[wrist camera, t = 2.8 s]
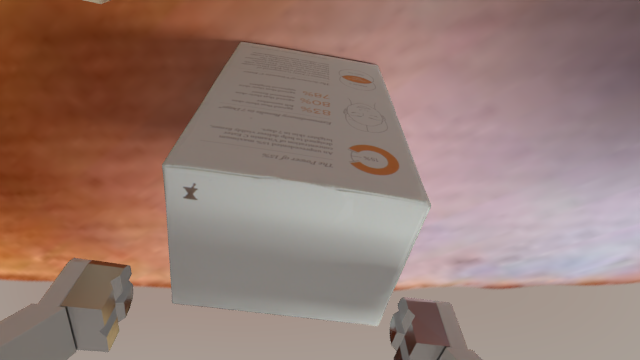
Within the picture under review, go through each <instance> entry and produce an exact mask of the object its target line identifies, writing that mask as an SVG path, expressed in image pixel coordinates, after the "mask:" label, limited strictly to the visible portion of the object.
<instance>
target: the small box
mask: <svg viewBox="0 0 640 360" xmlns="http://www.w3.org/2000/svg"><path fill="white" fill-rule="evenodd" d="M162 169H163V178H164V189H165V200H166V212H167V228H168V245H169V260H170V275H171V290H172V303H174V304H181V305H193V306H201V307H211V308H219V309H228V310H238V311H247V312H255V313H265V314H274V315H283V316H292V317H301V318H310V319H318V320H327V321H336V322H346V323H355V324H363V325H371V326H378V325H379V323H380V321H381V318H382V316H383V314H384V311H385V309H386V306H387V304H388V301H389V299H390V297H391V295H392V293H393V290H394V288H395V286H396V284H397V281H398V279H399V277H400V275H401V272H402V270H403V268H404V266H405V263H406V261H407V259H408V257H409V254H410V252H411V250H412V248H413V245H414V243H415V241H416V239H417V236H418V234H419V232H420V230H421V227H422V225H423V223H424V221H425V219H426V216H427V214H428V212H429V210H430V208H431V203H430V201H429V199H428V196H427V194H426V191H425V189H424V186H423V184H422V181H421V178H420V176H419V173H418V171H417V168H416V166H415V163H414V160H413V157H412V155H411V152H410V149H409V147H408V144H407V141H406V138H405V136H404V133H403V130H402V128H401V125H400V123H399V120H398V118H397V115H396V112H395V109H394V106H393V103H392V101H391V98H390V95H389V93H388V90H387V88H386V85H385V82H384V80H383V77H382V75H381V72H380V70H379V67H378V66H377V65H374V64H368V63H363V62H357V61H352V60H346V59H341V58H335V57H329V56H324V55H318V54H312V53H306V52H301V51H295V50H289V49H283V48H278V47H272V46H266V45H259V44H253V43H247V42H240V43H239V45H238V46H237V48H236V50H235V51H234V53H233V54H232V56H231V57H230V59H229V60H228V62H227V63H226V65H225V66H224V68H223V69H222V71H221V73H220V74H219V76H218V77H217V79H216V80H215V82H214V84H213V85H212V87H211V89H210V90H209V92H208V93H207V95H206V97H205V98H204V100H203V101H202V103H201V105H200V106H199V108H198V109H197V111H196V113H195V114H194V116H193V117H192V119H191V120H190V122H189V123H188V125H187V126H186V128H185V130H184V131H183V133H182V134H181V136H180V137H179V139H178V141H177V142H176V144H175V145H174V147H173V148H172V150H171V151H170V153H169V155H168V156H167V158H166V159H165V161H164V162H163V164H162Z"/></svg>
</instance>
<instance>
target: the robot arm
mask: <svg viewBox="0 0 640 360" xmlns="http://www.w3.org/2000/svg"><path fill="white" fill-rule="evenodd" d="M131 274H132V273H131V267H130V266H128V265H123V264H116V263H109V262H102V261H95V260H86V259H79V258H73V259H72V260H70V261H69V262H68V263H67V264H66V266H65V267H64V268H63V270H62V271H61V273H60V274H59V275H58V277H57V278H56V279H55V281H54V282H53V284H52V285H51V286H50V288H49V289H48V291H47V292H46V294H45V295H44V296H43V298H42V299H41V300H40V302H39V303H38V304H30V305H29V306H27V307H25V308H23V309H21V310H20V311H18V312H16V313H15V314H13V315H11V316H9V317H7V318H5V319H4V320H2V321H0V360H67V359H68V358H69V357H70V356H72V355H73V354H74V353H75V352H76V350H88V351H103V352H109V351H110V349H111V347H112V345H113V343H114V341H115V339H116V337H117V334H118V333H119V325H118V322H119V321H121V320H122V319H124V318H125V317H126V316H127V313H128V311H129V309H130V306H131V302H132V299H133V284H132V283H131V282H130V281H129V278H130V276H131ZM398 309H399V311H398V312H397V313H395V314H394V315H393V317H392V319H391V323H390V341H391V345H392V346H393V347H394V349H395V350H396V351H397V352H396V354H395V356H394V360H482V359H481V358H480V357H479V356H478V355H477V354H476V353H475V352H474V351H473V350H469V349H468V348H467V345H466V342H465V340H464V337H463V334H462V332H461V329H460V326H459V323H458V321H457V318H456V315H455V312H454V310H453V307H452V305H451V304H450V303H449V302H439V301H432V300H424V299H415V298H405V297H403V298H402V299H400V301H399V303H398Z"/></svg>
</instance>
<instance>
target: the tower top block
mask: <svg viewBox="0 0 640 360" xmlns="http://www.w3.org/2000/svg"><path fill="white" fill-rule="evenodd" d="M84 1H89V2H94V3H99V4H102V3H105V2H108V1H110V0H84Z"/></svg>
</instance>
